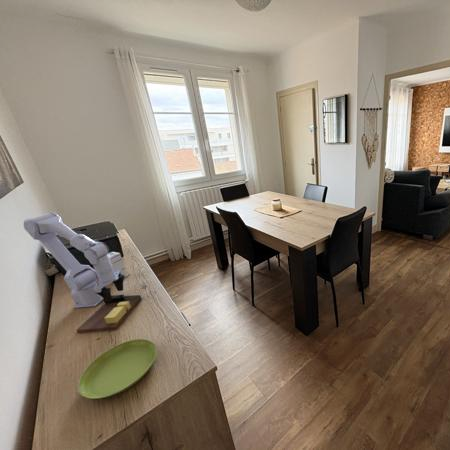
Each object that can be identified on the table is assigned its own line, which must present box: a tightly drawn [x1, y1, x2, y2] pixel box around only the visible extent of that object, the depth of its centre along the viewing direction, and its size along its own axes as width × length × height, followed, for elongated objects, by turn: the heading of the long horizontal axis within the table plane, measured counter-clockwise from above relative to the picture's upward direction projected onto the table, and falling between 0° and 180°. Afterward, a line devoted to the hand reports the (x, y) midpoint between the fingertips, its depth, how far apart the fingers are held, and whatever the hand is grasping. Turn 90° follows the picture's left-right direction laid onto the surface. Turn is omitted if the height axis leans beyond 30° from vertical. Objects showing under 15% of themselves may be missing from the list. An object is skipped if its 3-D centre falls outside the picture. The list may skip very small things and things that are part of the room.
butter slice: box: [117, 301, 131, 310], centre depth 104 cm, size 4×2×3 cm, turn 93°
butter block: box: [105, 307, 126, 324], centre depth 99 cm, size 4×6×3 cm, turn 3°
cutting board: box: [76, 299, 142, 334], centre depth 103 cm, size 15×18×2 cm
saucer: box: [77, 338, 157, 400], centre depth 77 cm, size 21×21×3 cm
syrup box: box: [106, 251, 129, 279], centre depth 129 cm, size 6×6×14 cm
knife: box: [102, 294, 143, 304], centre depth 110 cm, size 16×2×3 cm, turn 93°
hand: (115, 295), depth 109 cm, fingers open, 7 cm apart
